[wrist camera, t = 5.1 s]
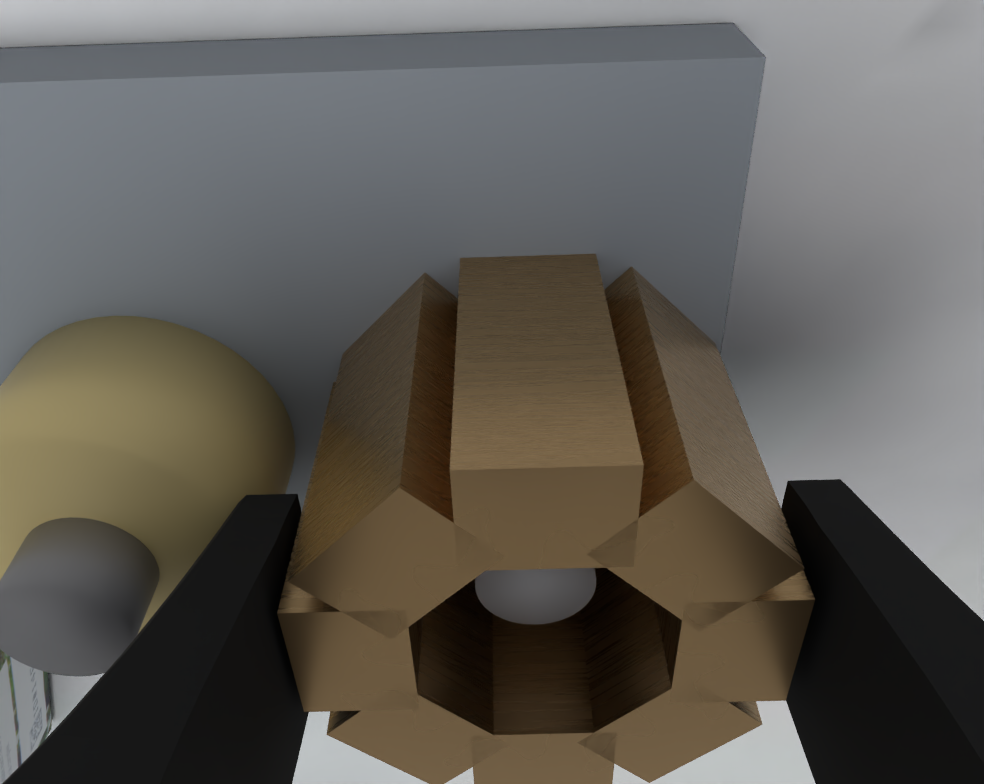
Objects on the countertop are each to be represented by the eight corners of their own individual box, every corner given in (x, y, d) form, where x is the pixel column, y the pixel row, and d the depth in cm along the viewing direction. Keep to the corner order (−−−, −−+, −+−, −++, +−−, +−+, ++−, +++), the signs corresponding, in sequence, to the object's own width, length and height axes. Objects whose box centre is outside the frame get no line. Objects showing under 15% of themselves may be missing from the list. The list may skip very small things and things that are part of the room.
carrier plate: (733, 23, 11) (886, 185, 7) (662, 575, 16) (720, 839, 12) (-74, 51, 11) (-412, 226, 7) (144, 589, 17) (35, 853, 13)
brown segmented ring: (744, 249, 11) (856, 459, 7) (696, 550, 14) (760, 787, 11) (312, 262, 11) (239, 476, 8) (363, 559, 14) (327, 798, 11)
